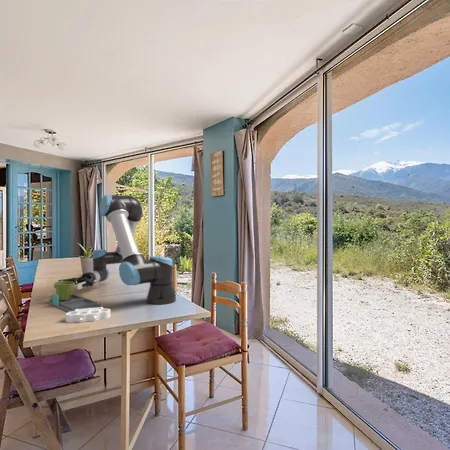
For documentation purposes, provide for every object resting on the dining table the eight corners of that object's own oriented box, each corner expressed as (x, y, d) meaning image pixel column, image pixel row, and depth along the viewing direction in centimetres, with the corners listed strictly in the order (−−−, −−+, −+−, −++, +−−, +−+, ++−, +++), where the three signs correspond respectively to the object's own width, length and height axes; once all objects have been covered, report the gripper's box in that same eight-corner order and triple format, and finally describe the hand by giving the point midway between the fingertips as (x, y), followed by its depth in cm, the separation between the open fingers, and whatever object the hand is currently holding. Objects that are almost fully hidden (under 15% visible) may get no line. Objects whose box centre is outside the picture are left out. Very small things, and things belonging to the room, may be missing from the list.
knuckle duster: (110, 311, 152) (110, 321, 139) (68, 315, 146) (63, 325, 133) (110, 304, 152) (110, 313, 139) (68, 308, 146) (63, 317, 133)
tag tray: (100, 306, 160) (100, 294, 160) (69, 312, 149) (69, 300, 149) (76, 297, 178) (75, 286, 178) (46, 302, 167) (46, 291, 167)
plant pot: (64, 302, 163) (66, 285, 163) (48, 299, 165) (50, 282, 165) (77, 299, 172) (78, 282, 172) (61, 296, 174) (63, 280, 174)
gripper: (110, 285, 186) (87, 294, 165) (71, 284, 190) (44, 292, 169) (109, 272, 185) (87, 279, 165) (70, 271, 190) (44, 278, 169)
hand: (65, 286), depth 167 cm, fingers open, 13 cm apart
